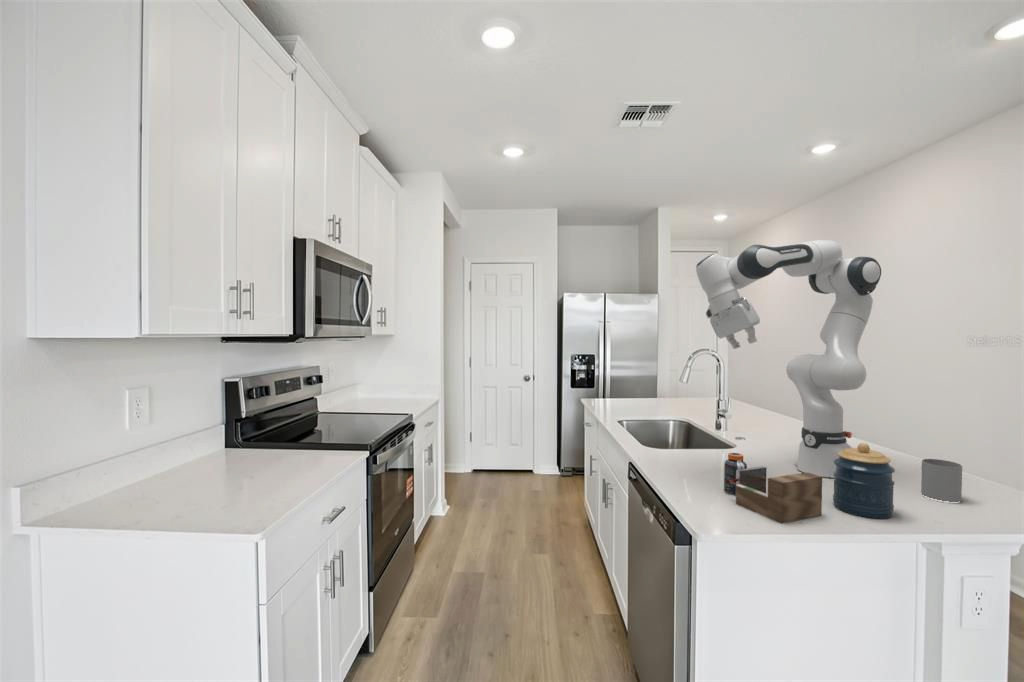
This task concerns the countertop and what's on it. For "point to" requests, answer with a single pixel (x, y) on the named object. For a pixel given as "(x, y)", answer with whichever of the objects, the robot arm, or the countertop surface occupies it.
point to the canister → (863, 482)
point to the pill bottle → (732, 471)
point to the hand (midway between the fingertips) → (745, 345)
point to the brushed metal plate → (752, 478)
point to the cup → (941, 480)
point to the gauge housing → (785, 497)
